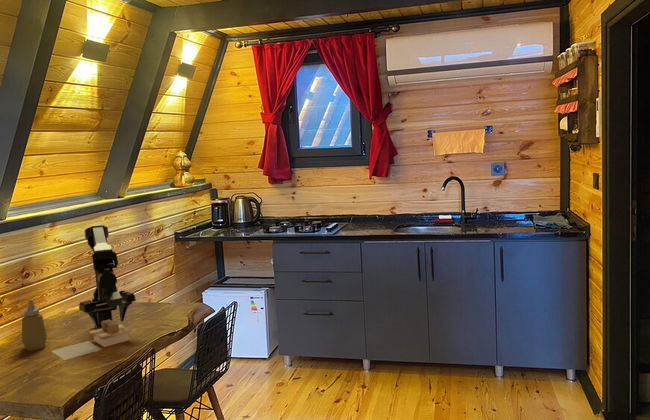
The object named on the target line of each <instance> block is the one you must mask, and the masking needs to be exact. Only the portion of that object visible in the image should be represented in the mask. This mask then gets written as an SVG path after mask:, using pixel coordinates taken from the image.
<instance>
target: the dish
mask: <svg viewBox="0 0 650 420" xmlns="http://www.w3.org/2000/svg"><path fill="white" fill-rule="evenodd" d="M93 341H94V342H95V343H97V344H99V345H100V346H102V347H104V348H106V347H109V346H112V345H116V344H120V343H123V342H127V341H129V333H126V334H122V335H119V336H115V337H111V338H108V339H104V340H101V339H99V338H97V337H95V336H94V335H93Z"/></svg>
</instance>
